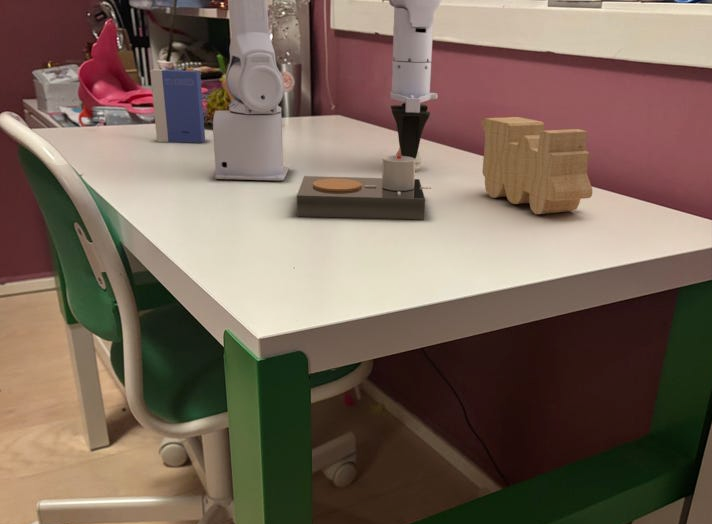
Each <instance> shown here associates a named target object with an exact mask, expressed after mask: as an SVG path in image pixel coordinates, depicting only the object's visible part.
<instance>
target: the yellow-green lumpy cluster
mask: <svg viewBox="0 0 712 524" xmlns="http://www.w3.org/2000/svg"><path fill="white" fill-rule="evenodd" d="M224 79H226V73H223V74H222V75H221V77H219V79H218V81H219V82H220V83H221V87H219V88H216V89H214V90H213V91H211V93H209V95H206V97H207V98H206V101H204V103H206V112H207V113H206V114H207V115H208V116H205V117H204V126H205V125H206V126H208V127H213V118H214V114H215V112H216V111H229V105H230V103H231V100H230V97H229V96H228V94H227V93H226V91H225V90H224V88H223V85H222V82H223V80H224ZM207 92H210V91H209V90H208V91H207Z"/></svg>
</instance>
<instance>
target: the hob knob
mask: <svg viewBox="0 0 712 524" xmlns="http://www.w3.org/2000/svg"><path fill="white" fill-rule="evenodd" d="M381 167H382V169H381V178H382V188H384V189H387V190H393V191H407V190H412V189H414V180H415V179H416V178H415V176H416V171H415V158H412V157H408V156H401V153H397V152H396V153H395V155H387V156H383V157H382V166H381Z"/></svg>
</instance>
